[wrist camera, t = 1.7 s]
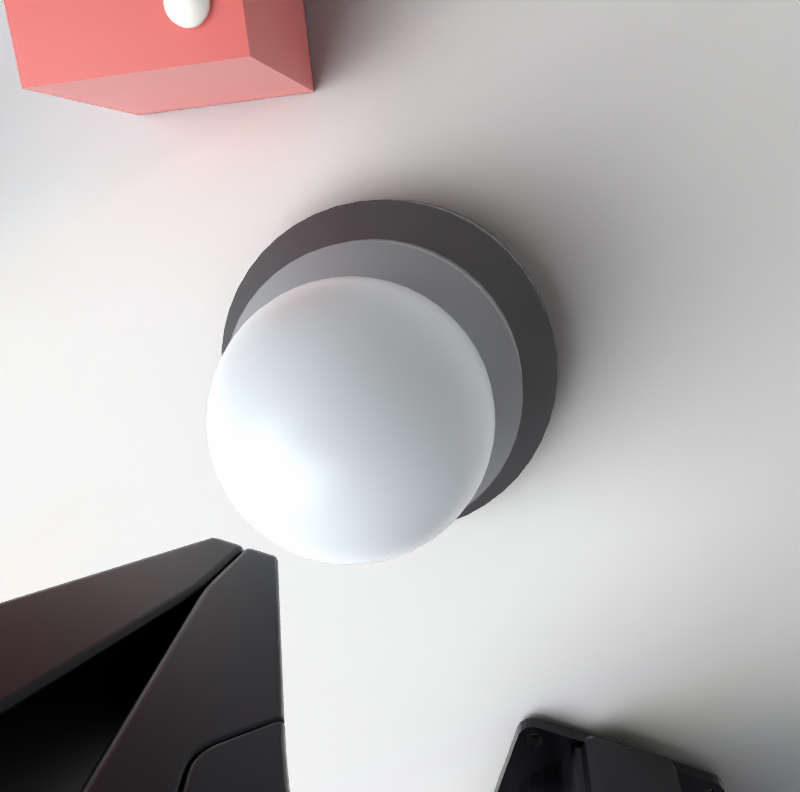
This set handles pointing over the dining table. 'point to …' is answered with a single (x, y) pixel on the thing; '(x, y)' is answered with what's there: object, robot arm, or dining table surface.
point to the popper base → (467, 251)
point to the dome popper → (364, 401)
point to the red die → (161, 51)
